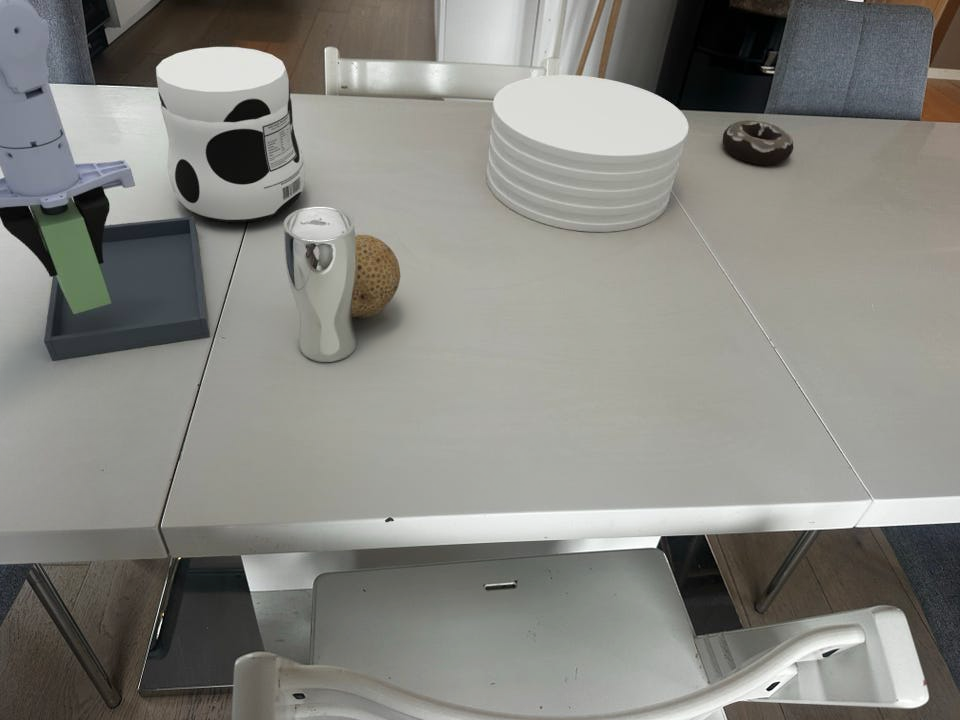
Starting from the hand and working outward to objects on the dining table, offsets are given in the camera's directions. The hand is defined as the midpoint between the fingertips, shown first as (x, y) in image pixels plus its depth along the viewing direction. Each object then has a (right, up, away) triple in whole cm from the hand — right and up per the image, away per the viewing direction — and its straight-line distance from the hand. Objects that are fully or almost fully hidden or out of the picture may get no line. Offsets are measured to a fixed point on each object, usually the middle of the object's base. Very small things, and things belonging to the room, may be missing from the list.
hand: (74, 265), depth 70 cm
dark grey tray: (0, -1, +11) cm, 11 cm away
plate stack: (+55, +18, +39) cm, 70 cm away
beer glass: (+24, -8, +7) cm, 26 cm away
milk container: (+8, +12, +28) cm, 31 cm away
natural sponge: (+27, -5, +11) cm, 29 cm away
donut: (+88, +26, +53) cm, 106 cm away
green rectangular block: (0, -3, +3) cm, 4 cm away
